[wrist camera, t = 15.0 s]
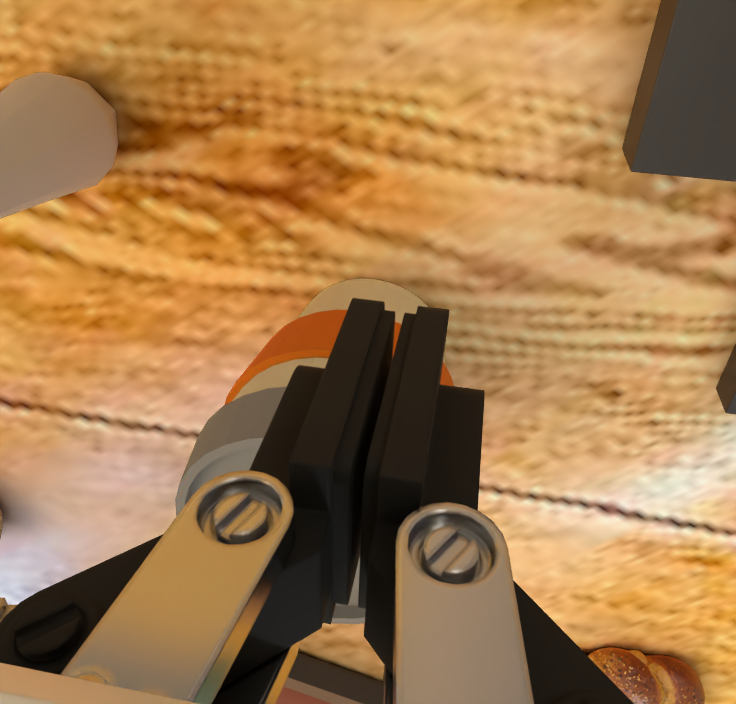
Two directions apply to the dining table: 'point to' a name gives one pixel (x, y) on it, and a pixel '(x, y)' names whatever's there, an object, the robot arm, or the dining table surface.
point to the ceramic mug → (0, 523)
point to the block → (728, 385)
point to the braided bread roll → (650, 677)
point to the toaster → (328, 685)
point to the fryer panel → (687, 94)
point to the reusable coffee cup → (268, 383)
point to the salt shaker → (52, 140)
